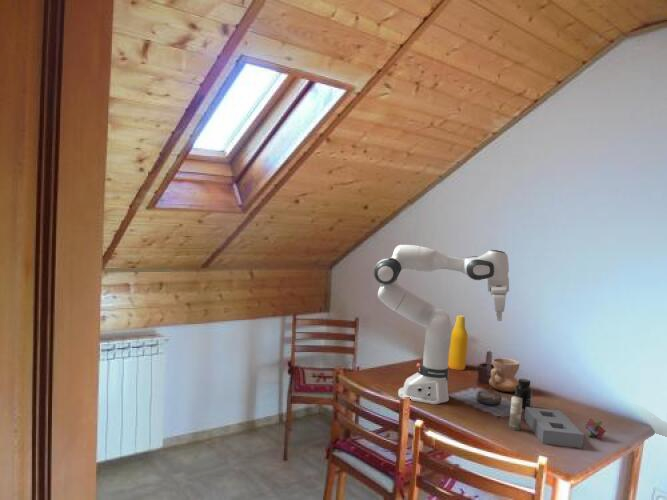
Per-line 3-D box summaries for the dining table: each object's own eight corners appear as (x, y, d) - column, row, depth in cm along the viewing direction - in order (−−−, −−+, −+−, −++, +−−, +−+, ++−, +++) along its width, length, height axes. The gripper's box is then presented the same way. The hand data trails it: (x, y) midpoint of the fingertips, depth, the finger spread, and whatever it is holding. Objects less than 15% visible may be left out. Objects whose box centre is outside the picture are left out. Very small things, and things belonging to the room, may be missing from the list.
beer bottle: (446, 364, 284) (451, 313, 283) (463, 366, 283) (468, 315, 282) (448, 369, 275) (453, 316, 274) (466, 371, 274) (470, 318, 273)
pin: (510, 429, 195) (513, 399, 194) (507, 425, 199) (510, 395, 198) (520, 431, 194) (523, 400, 194) (518, 427, 198) (520, 397, 198)
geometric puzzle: (613, 435, 191) (602, 414, 195) (603, 438, 187) (593, 417, 191) (597, 440, 196) (587, 420, 200) (587, 443, 192) (577, 422, 196)
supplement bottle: (531, 410, 218) (534, 383, 218) (515, 408, 220) (517, 381, 219) (528, 405, 225) (531, 378, 225) (512, 403, 226) (515, 376, 226)
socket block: (542, 443, 184) (543, 430, 184) (524, 418, 208) (525, 406, 208) (582, 447, 183) (583, 434, 182) (559, 422, 206) (560, 410, 206)
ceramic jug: (505, 383, 256) (507, 355, 256) (528, 392, 243) (530, 363, 243) (478, 387, 248) (480, 358, 247) (501, 396, 235) (503, 366, 234)
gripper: (490, 284, 230) (491, 314, 231) (491, 290, 211) (492, 322, 211) (505, 284, 228) (505, 314, 229) (507, 290, 209) (507, 323, 209)
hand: (499, 318), depth 220 cm, fingers open, 8 cm apart
